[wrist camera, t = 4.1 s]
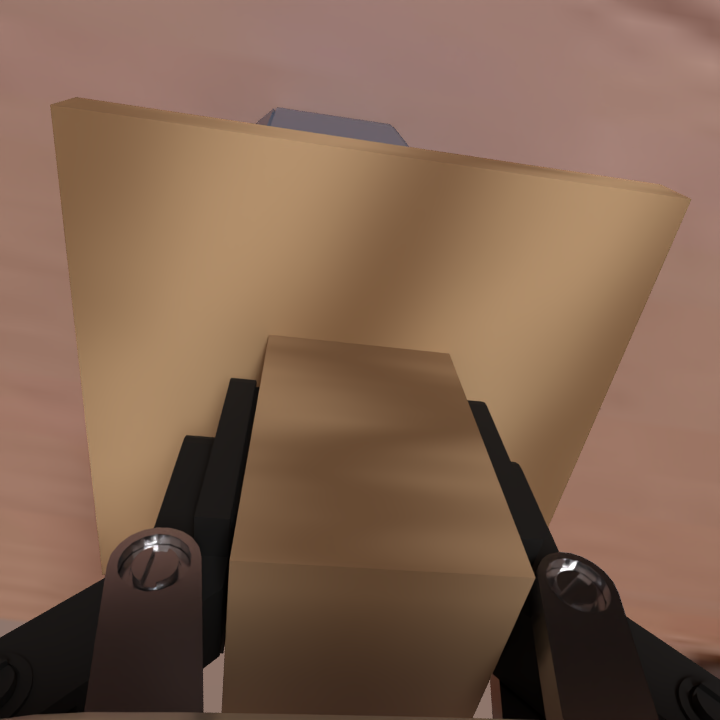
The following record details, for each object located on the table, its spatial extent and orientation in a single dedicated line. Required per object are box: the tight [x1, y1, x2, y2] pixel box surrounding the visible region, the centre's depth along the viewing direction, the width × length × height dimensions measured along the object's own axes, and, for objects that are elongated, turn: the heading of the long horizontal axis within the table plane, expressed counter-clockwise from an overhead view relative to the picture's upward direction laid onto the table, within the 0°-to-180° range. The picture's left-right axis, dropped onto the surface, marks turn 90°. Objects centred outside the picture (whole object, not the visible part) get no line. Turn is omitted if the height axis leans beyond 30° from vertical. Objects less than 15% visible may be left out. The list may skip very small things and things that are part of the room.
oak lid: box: [50, 97, 691, 718], centre depth 11 cm, size 12×12×7 cm
